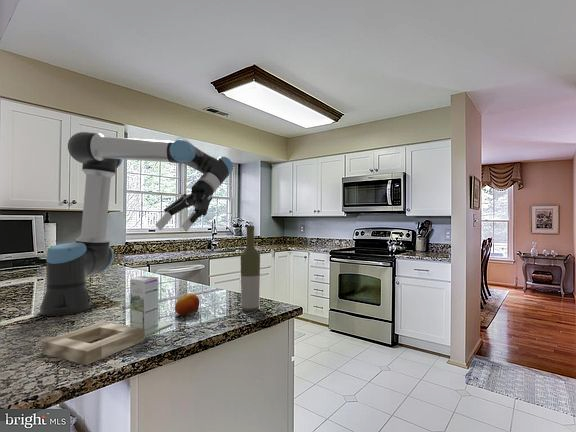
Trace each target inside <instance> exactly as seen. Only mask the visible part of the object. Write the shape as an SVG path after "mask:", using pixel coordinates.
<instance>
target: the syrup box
mask: <svg viewBox="0 0 576 432" xmlns="http://www.w3.org/2000/svg"><path fill="white" fill-rule="evenodd" d="M129 292H130V293H129V294H130V295H129V298H130V299H129V304H130V306H129V315H130V316H129V318H130V319H129V322H130V323H129V325H130V327H135V328H140V329H149V328H151V327H154V326H156V325H158V321H159V277H158V276H148V275H142V276H136V277H132V278H130V279H129Z"/></svg>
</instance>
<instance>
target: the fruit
mask: <svg viewBox="0 0 576 432" xmlns="http://www.w3.org/2000/svg"><path fill="white" fill-rule="evenodd" d="M199 307H200V299H199V296H197V294H195V293H186V294H184V295H182V296H181V297H179V298H178V299H177V300H176V302H175V307H174V310H175V312H176V313H177V314H178V315H179V316H181V317H189V316H193V315H194V314H195V313H198V314H200V312H199V309H200V308H199Z"/></svg>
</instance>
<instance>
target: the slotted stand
mask: <svg viewBox="0 0 576 432" xmlns="http://www.w3.org/2000/svg"><path fill="white" fill-rule="evenodd" d="M145 338H146V336H145V329H140V328H135V327H129V326H127V325H122V324H117V323H111V322H105V321H101V322H98V323H94V324H92V325H89V326H85V327H82V328H78V329H76V330H74V331H73V330H72V331H70V332H66V333H63V334H60V335H57V336H54V337H50V338H48V339H44V340H41V354H42V355H47V356H50V357H53V358H57V359H62V360H66V361H70V362H74V363H78V364H80V365H81V364H82V365H85V366H88V365H91V364H92V363H95V362H97V361H99V360H103V359H105V358H108V357H110V356H111V355H114V354H116V353H119V352H121V351H124V350H126V349H128V348H131V347H134V346H135V345H138V344H139V343H142V342H144V341H145ZM95 340H98V341H95ZM93 341H95V342H93ZM91 342H92V343H91Z"/></svg>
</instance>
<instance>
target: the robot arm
mask: <svg viewBox="0 0 576 432" xmlns="http://www.w3.org/2000/svg"><path fill="white" fill-rule="evenodd" d="M67 152H68V153H69V155H70V156H71V158H73V160H75V161H76V162H78V163H80V164H82V166H81V168H82V169H81V171H82V172H83V173H84V174H85V175H86V176H85V187H84V197H83V207H82V217H81V219H82V220H81V230H80V231H81V232H80V236H78V237H77V238H76V239H75V242H67V243H60V244H55V245H53V246H50V247H49V248H48V249H47V251H46V258H45V261H46V262H45V263H46V265H45V266H46V276H45V277H46V290H45V293H44V295H43V298H42V300H41V304H40V306H39V314H40V315H42V316H46V317H47V316H49V317H50V316H51V317H57V316H65V315H66V316H67V315H73V314H78V313H82V312H85V311H87V310H90V309H91V308H92V299H91V297H90V294H89V291H88V288H87V276H91V275H97V274H100V273H101V272H102V273H103V271H106V270H108V269H109V268H110V267H111V265H112V263H113V262H114V257H115V252H114V251H113V250H114V249H112V247H111V246H110V241H111V240H109V238H108V237H107V227H108V217H109V216H108V215H109V204H110V194H111V193H110V191H111V179H112V178H113V177H114V176H115V175H116V173H117V171H116V170H117V169H118V168H119V167H120V166H121V165H122V162H123V160H127V161H129V160H130V161H143V162H160V163H161V162H162V163H170V164H171V163H172V164H182V165H186V166H187V167H190V168H192V169H194V170H196V171H197V172H199V173H202V174H201V176H200V177H199V178H197V181H195V183H194V184H193V185H192V186H191V193H189V194H186V193H183V194H182V196H180V197H179V198H178V199H176V200H175V201H174V202H172V203H171V204H169V205H168V206H167V207H166V208H164V209H163V211H164V214H163V215H162V216H161V217H160V218H159V220H158V221H157V222H156V223H155V226H156V228H157V229H158V230H159V231H162V230H163V228H165V226H167V224H168V223H169V222H170V221H171V219H173V216H174V215H176V214H178V213H179V212H181V211H183V210H184V209H186V208H187V209H188V208H190V207H194V209H193V211H192V212H191V213H190V214H189V215H188V216H187V217H186V218H185V220H184V221H183V222H182V223H181V225H180V226H181V228H182V229H183V231H185V232H188V231H189V230H190V228H192V226H193V224H195V222H196V221H197V220H198V219H199V218H201V217H202V216H203V217H204V216H206V215H207V214H208V210H209V207H210V203H211V202H212V200H213V197H212V196H213V195H214V193H216V192H217V190H218V188H220V186H221V185H222V184H223V183H224V182H225V180H226V179H227V178H228V177H229V175H230V174H231V173H232V172H233V169H234V164H233V162H232V161H231V159H230V158H228V157H227V156H225V155H224V156H223V155H220V156H218V157H217V158H216V157H213V156H211V155H209V154H208V153H205V152H204V151H202V150H201V149H199V148H198V147H196V146H194V144H192V143H191V142H190V141H188V140H184V139H176V140H174V141H171V140H161V139H160V140H159V139H157V140H156V139H142V138H126V137H113V136H104V135H103V134H102V133H98V132H87V131H80V132H76V133H74V134H73V135H72V136H71V137H70V138H69V139H68V142H67Z"/></svg>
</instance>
